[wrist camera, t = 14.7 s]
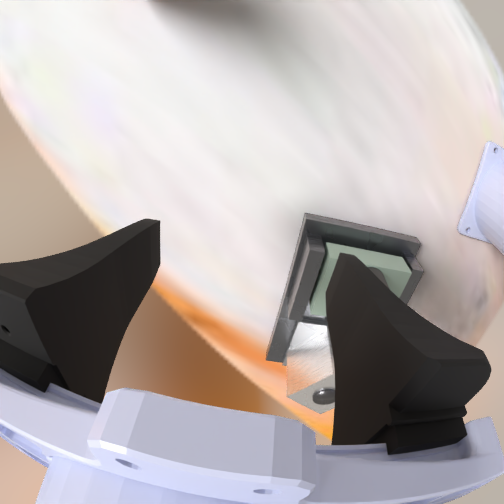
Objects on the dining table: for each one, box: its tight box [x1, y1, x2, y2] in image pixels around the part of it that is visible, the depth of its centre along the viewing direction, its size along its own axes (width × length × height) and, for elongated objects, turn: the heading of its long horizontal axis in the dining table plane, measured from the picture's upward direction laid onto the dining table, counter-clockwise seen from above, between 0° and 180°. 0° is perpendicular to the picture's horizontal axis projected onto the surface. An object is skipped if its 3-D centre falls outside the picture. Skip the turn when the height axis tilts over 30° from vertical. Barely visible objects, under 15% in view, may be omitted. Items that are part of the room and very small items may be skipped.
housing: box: [287, 326, 335, 414], centre depth 23 cm, size 4×4×5 cm
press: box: [266, 213, 424, 366], centre depth 23 cm, size 9×15×3 cm, turn 171°
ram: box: [309, 242, 412, 316], centre depth 18 cm, size 6×5×6 cm
